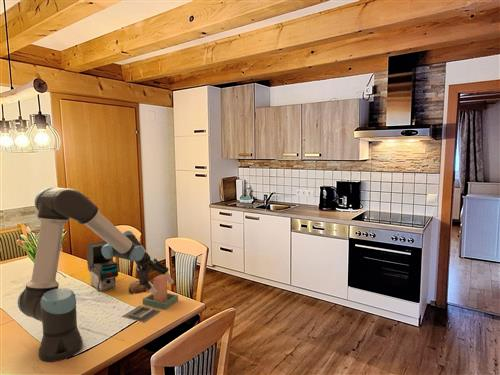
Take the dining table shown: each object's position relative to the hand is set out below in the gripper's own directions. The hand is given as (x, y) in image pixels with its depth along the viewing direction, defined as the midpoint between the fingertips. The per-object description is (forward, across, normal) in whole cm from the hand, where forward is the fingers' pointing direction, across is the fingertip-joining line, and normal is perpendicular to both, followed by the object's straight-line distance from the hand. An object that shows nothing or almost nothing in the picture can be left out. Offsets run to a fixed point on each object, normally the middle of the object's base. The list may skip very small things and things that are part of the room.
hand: (164, 288), depth 165 cm
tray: (+5, 0, -8) cm, 9 cm away
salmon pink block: (+4, 0, -8) cm, 9 cm away
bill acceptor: (-28, -5, -41) cm, 49 cm away
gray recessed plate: (+4, +13, -9) cm, 16 cm away
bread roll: (-11, -8, -24) cm, 28 cm away
